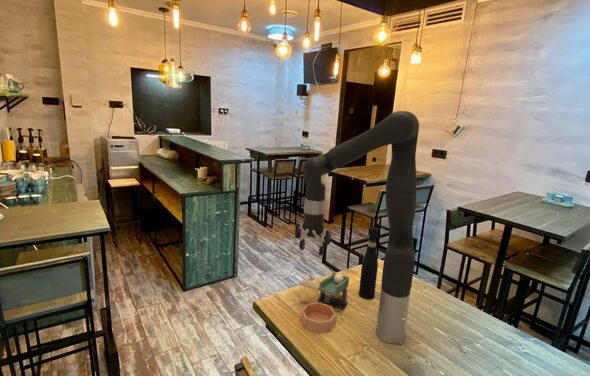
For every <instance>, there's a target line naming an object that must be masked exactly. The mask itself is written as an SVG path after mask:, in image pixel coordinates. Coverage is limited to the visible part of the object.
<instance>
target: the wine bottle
mask: <svg viewBox="0 0 590 376" xmlns="http://www.w3.org/2000/svg"><path fill="white" fill-rule="evenodd" d="M379 230H380V229H379V227H377V226H373V225H372V226H369V227H368V234H367V236H368V237H369V239H368V241H367V245H366V251H365V253H364V255H363V259H362V261H361V268H360V270H361V271H360V278H359V287H358V295H359V297H360V298H362V299H364V300H372V299H375V293H376V285H377V277H378V267H379V264H378V263H379V262H378V256H377V248H378V247H377V238H378V237H379Z"/></svg>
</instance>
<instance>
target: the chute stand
mask: <svg viewBox="0 0 590 376" xmlns="http://www.w3.org/2000/svg"><path fill="white" fill-rule="evenodd" d="M319 291H320V290H319ZM341 293H342V296H341V298H337V297H336V296H335V297H334V296H333V295H332V296H331V295H330V294H327V293H326V292H323V291H320V293H319V297H318V299H317V302H320V303H323V304H326V305H329V306H331V307H332V308H334V309H338V310H341V311H345V309H346V308H347V307H348V304H349V301H348V300H347V299H348V298H347V297H348V289H347V288H346V289H344V290H343V292H341Z"/></svg>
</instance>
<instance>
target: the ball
mask: <svg viewBox="0 0 590 376" xmlns="http://www.w3.org/2000/svg"><path fill="white" fill-rule="evenodd" d="M342 275H343V274H341V273H336V275H335V276H334V282H335V283H336V284H340V283H341V282H343V280H344V278H343V276H344V275H343V276H342Z"/></svg>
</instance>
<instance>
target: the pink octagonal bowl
mask: <svg viewBox="0 0 590 376" xmlns="http://www.w3.org/2000/svg"><path fill="white" fill-rule="evenodd" d="M300 322H301V323H302V326H303V327H304V329H305V330H307V331H310V332H313V333H315V334H318V335H319V334H323V333H329V332H331V331H332V329H334V326H336V322H337V313H336V311H335V310H334V307H332V306H329V305H326V304H323V303H320V302H318V301H317V302H312V303H306V305H305V306H303V308H302V309H301V313H300Z"/></svg>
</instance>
